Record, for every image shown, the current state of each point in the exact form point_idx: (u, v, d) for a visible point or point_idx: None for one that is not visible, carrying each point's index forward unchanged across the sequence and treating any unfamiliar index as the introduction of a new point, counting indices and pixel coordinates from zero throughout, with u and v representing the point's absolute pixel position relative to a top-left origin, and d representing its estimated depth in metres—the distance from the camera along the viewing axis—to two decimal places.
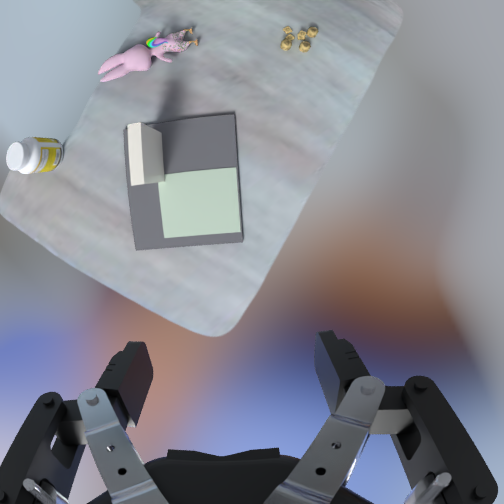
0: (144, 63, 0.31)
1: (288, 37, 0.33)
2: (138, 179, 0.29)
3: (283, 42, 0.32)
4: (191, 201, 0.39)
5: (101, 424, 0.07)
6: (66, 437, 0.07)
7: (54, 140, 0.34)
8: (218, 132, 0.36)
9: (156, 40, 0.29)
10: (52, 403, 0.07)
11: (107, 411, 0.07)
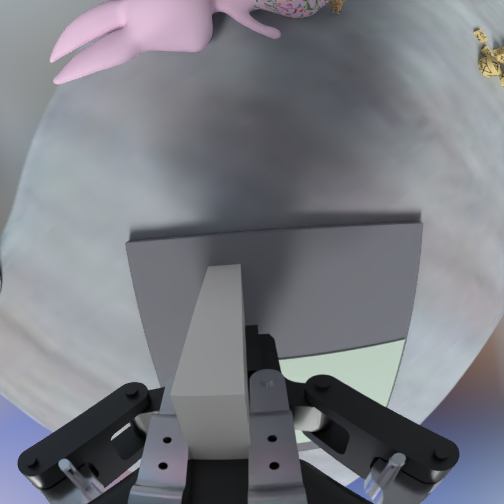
0: (194, 28, 0.09)
1: (487, 51, 0.11)
2: None
3: (491, 62, 0.10)
4: None
5: None
6: (139, 430, 0.08)
7: None
8: (388, 268, 0.15)
9: None
10: (137, 394, 0.08)
11: None
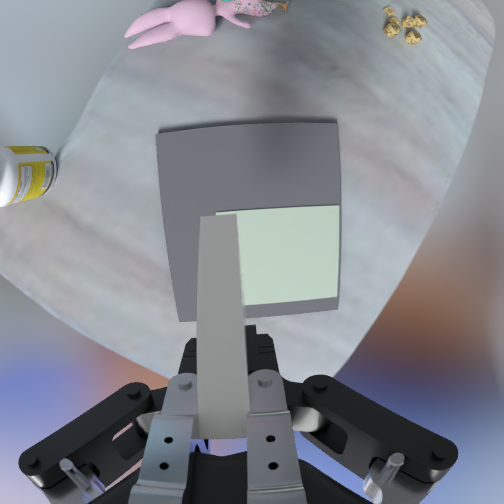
0: (206, 24, 0.18)
1: (392, 20, 0.20)
2: None
3: (390, 25, 0.19)
4: (269, 255, 0.26)
5: (178, 412, 0.08)
6: (141, 430, 0.08)
7: (42, 149, 0.21)
8: (315, 149, 0.24)
9: None
10: (139, 394, 0.08)
11: (192, 401, 0.08)
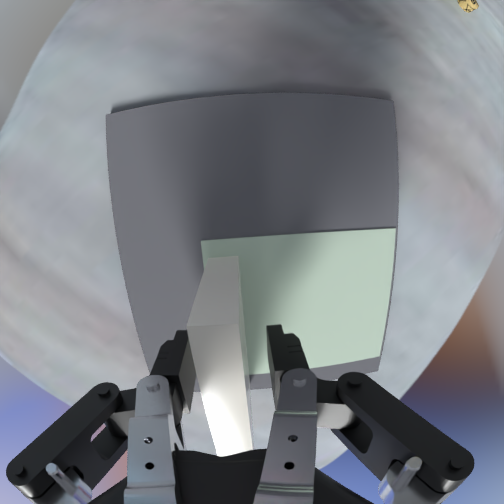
0: None
1: None
2: None
3: None
4: (287, 306, 0.16)
5: (152, 413, 0.08)
6: (115, 429, 0.08)
7: None
8: (362, 138, 0.14)
9: None
10: (108, 394, 0.08)
11: (163, 401, 0.08)
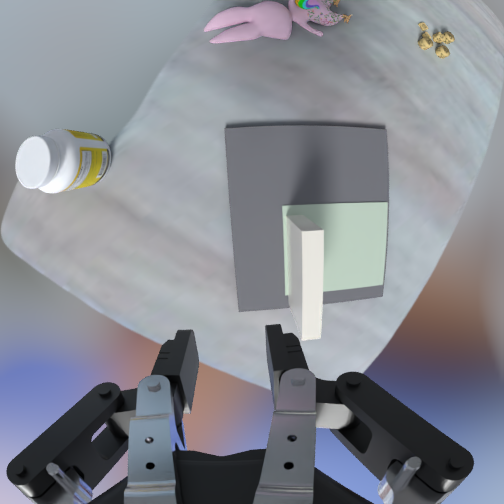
0: (286, 28, 0.20)
1: (425, 35, 0.21)
2: None
3: (425, 39, 0.21)
4: (328, 246, 0.28)
5: (153, 413, 0.08)
6: (116, 429, 0.08)
7: (97, 136, 0.23)
8: (368, 151, 0.25)
9: (309, 0, 0.17)
10: (109, 394, 0.08)
11: (164, 401, 0.08)
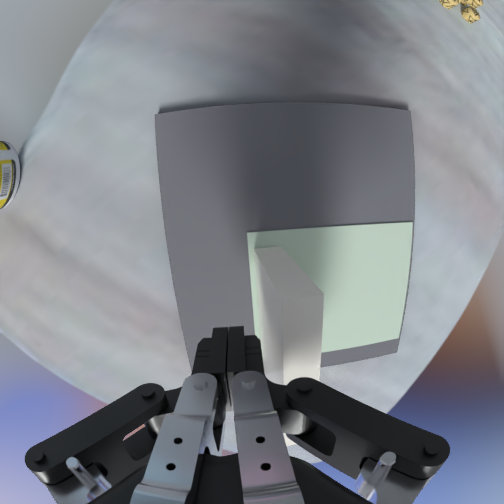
0: None
1: None
2: None
3: None
4: None
5: (191, 412, 0.08)
6: (153, 431, 0.08)
7: (1, 144, 0.13)
8: (385, 143, 0.15)
9: None
10: (153, 395, 0.08)
11: (206, 402, 0.08)
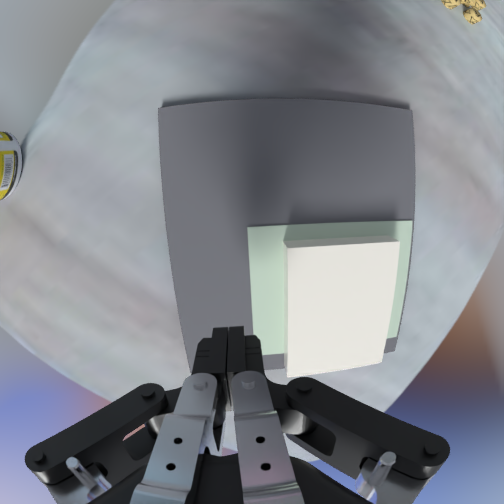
0: None
1: None
2: None
3: None
4: None
5: (191, 412, 0.08)
6: (153, 431, 0.08)
7: (3, 135, 0.13)
8: (386, 142, 0.16)
9: None
10: (153, 395, 0.08)
11: (206, 402, 0.08)
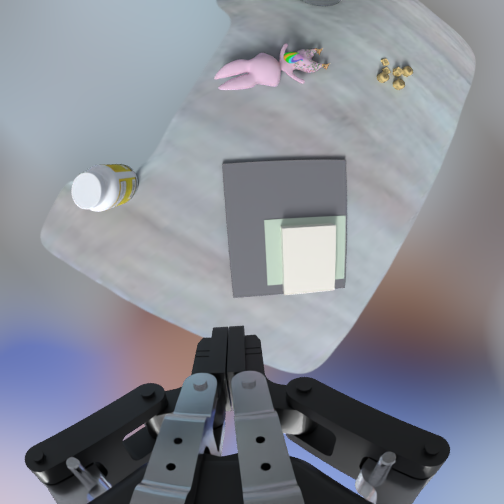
0: (275, 78, 0.30)
1: (385, 70, 0.31)
2: None
3: (382, 74, 0.31)
4: None
5: (191, 412, 0.08)
6: (153, 431, 0.08)
7: (127, 167, 0.33)
8: (330, 178, 0.36)
9: (294, 56, 0.28)
10: (153, 395, 0.08)
11: (206, 402, 0.08)
